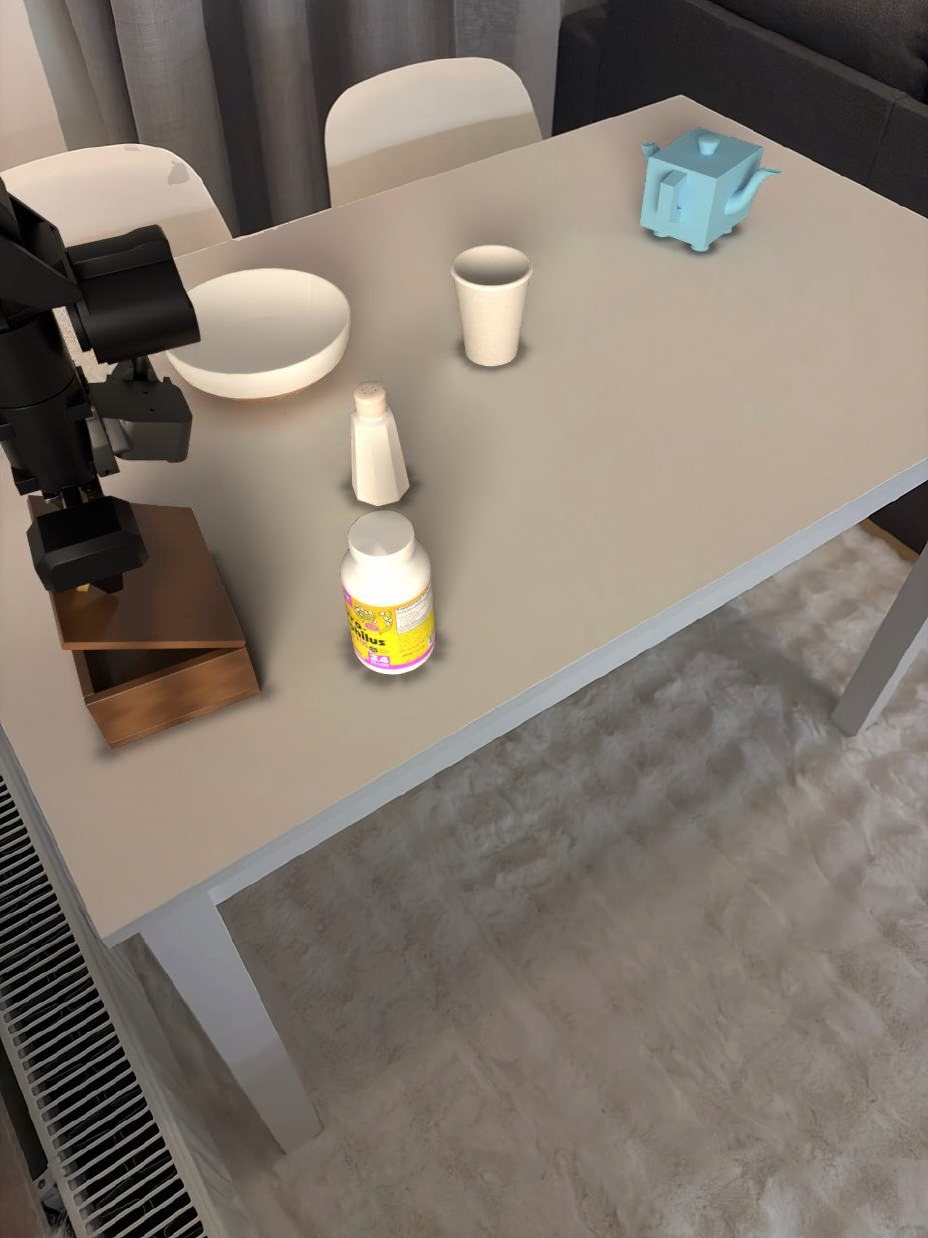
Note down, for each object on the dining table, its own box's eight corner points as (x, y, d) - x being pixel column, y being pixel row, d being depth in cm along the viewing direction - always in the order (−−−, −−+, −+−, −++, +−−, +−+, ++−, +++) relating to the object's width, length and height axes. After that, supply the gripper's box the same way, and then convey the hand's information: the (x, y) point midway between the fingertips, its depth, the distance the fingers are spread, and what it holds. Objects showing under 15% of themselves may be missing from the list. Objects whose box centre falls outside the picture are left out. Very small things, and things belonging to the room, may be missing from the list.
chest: (111, 749, 68) (85, 705, 64) (74, 606, 77) (49, 559, 73) (261, 693, 71) (245, 647, 67) (208, 561, 80) (192, 513, 76)
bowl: (135, 390, 96) (117, 339, 92) (252, 300, 107) (241, 250, 102) (283, 448, 90) (272, 397, 85) (392, 347, 100) (387, 296, 96)
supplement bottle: (338, 639, 74) (315, 526, 64) (405, 601, 77) (392, 486, 67) (384, 692, 71) (367, 582, 61) (452, 650, 73) (447, 537, 63)
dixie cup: (525, 376, 96) (528, 289, 89) (447, 370, 97) (443, 284, 90) (533, 331, 102) (537, 246, 94) (459, 326, 103) (457, 240, 95)
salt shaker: (348, 506, 84) (332, 409, 76) (356, 467, 88) (341, 370, 79) (406, 507, 84) (397, 410, 76) (412, 468, 87) (404, 371, 79)
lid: (61, 650, 59) (75, 593, 56) (26, 501, 68) (36, 446, 65) (243, 647, 67) (263, 597, 64) (189, 513, 76) (205, 464, 73)
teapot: (669, 188, 122) (682, 98, 114) (791, 230, 115) (816, 136, 106) (599, 235, 115) (609, 141, 106) (725, 283, 107) (746, 187, 98)
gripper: (201, 431, 50) (253, 614, 62) (129, 272, 61) (185, 454, 73) (-10, 491, 47) (87, 671, 59) (-46, 312, 58) (42, 495, 70)
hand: (107, 562), depth 66 cm, fingers open, 6 cm apart
